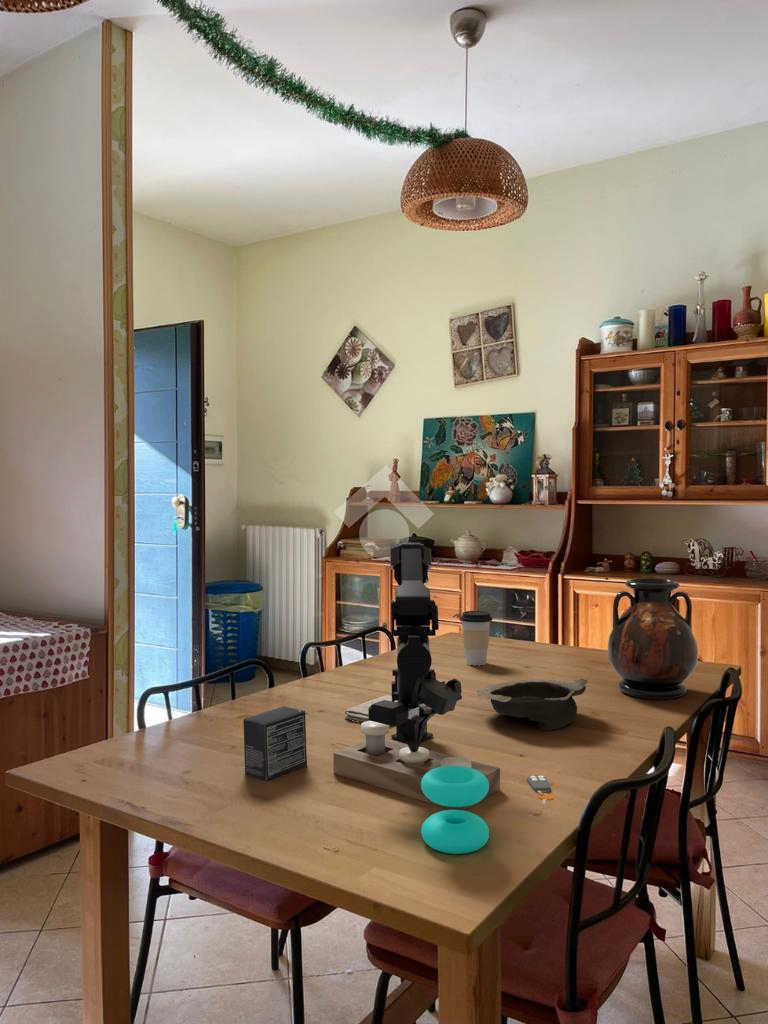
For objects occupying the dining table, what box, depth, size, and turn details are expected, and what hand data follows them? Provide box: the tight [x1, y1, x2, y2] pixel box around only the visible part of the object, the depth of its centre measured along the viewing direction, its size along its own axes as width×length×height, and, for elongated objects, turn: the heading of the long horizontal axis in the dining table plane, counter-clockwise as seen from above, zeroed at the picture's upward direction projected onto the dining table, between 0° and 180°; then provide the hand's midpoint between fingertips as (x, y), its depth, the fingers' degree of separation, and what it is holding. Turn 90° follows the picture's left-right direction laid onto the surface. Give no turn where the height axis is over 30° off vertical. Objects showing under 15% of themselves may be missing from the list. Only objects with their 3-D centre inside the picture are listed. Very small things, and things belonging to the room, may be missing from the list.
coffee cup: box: [459, 610, 493, 667], centre depth 231 cm, size 9×9×15 cm
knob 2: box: [441, 756, 472, 768], centre depth 135 cm, size 5×5×5 cm
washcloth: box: [344, 694, 398, 723], centre depth 182 cm, size 12×18×3 cm, turn 146°
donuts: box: [420, 766, 490, 855], centre depth 117 cm, size 10×10×10 cm
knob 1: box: [360, 721, 390, 756], centre depth 146 cm, size 5×5×5 cm
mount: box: [332, 738, 501, 811], centre depth 141 cm, size 12×28×4 cm, turn 51°
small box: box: [242, 705, 308, 782], centre depth 147 cm, size 11×6×10 cm, turn 141°
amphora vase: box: [607, 577, 699, 700], centre depth 198 cm, size 22×22×28 cm
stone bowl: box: [476, 678, 588, 732], centre depth 177 cm, size 25×25×9 cm
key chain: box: [526, 774, 554, 805], centre depth 135 cm, size 13×4×2 cm, turn 2°
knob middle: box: [399, 746, 429, 767], centre depth 140 cm, size 5×5×5 cm
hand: (414, 751), depth 140 cm, fingers closed, pressing on knob middle
